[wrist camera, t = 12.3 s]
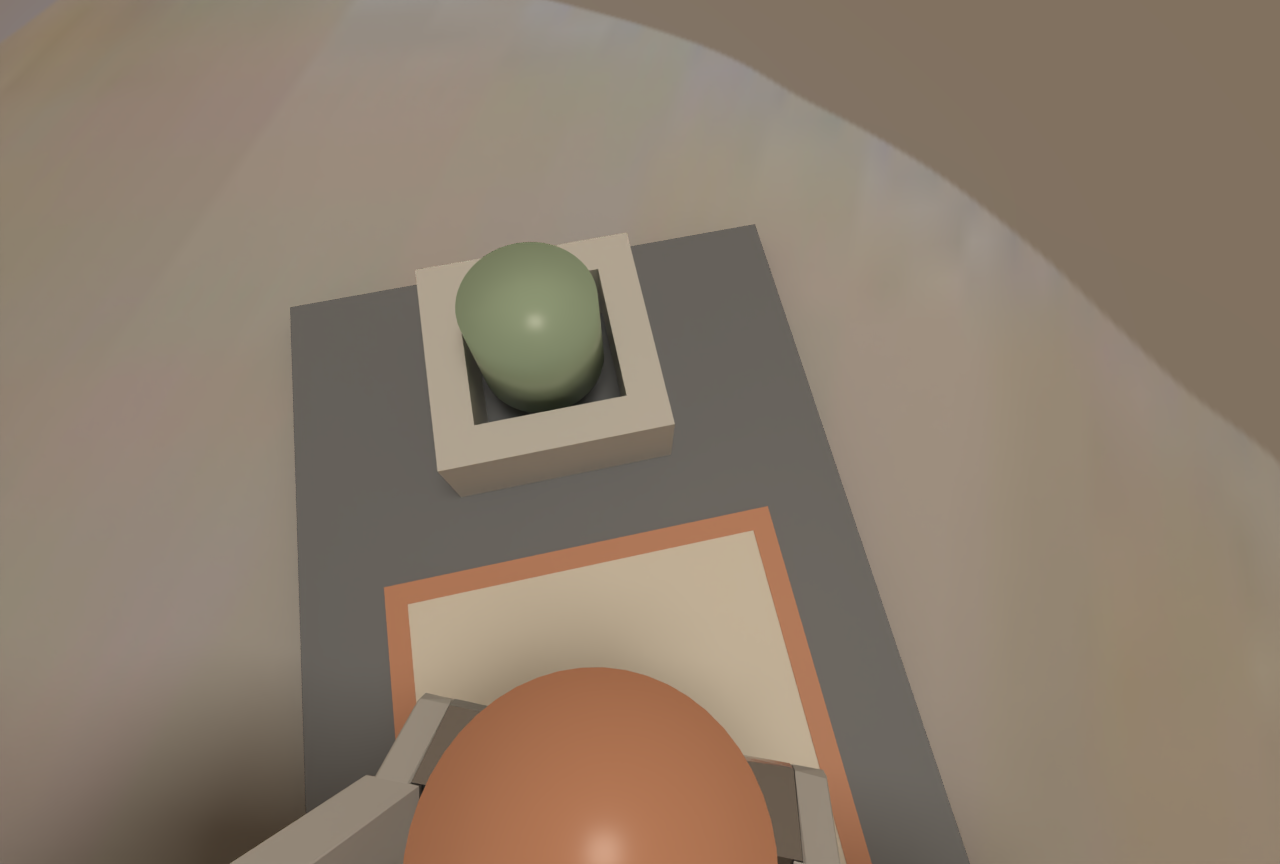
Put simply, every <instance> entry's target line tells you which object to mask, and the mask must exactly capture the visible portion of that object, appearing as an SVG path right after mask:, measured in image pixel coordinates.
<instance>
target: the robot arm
mask: <svg viewBox="0 0 1280 864" xmlns="http://www.w3.org/2000/svg"><path fill="white" fill-rule="evenodd" d="M486 707H487V706H486V705H481V704H477V703H472V702H468V701H463V700H459V699H452V698H448V697H443V696H438V695H434V694H429V693H425V694H424V695H423V696H422V697H421V698H420V699H419V700H418V701H417V703H416V705H415V706H414V708H413V710H412V712H411V713H410V715H409V717H408V719H407V721H406V722H405V724H404V726H403V728H402V729H401V731H400V733H399V735H398V737H397V738H396V740H395V742H394V744H393V745H392V747H391V749H390V751H389V752H388V754H387V756H386V758H385V760H384V761H383V763H382V765H381V767H380V768H379V770H378V772H377V774H376V776H369V775H365V776H364V777H362V778H360V779H359V780H357V781H356V782H354V783H353V784H351V785H350V786H348V787H347V788H345V789H344V790H342V791H341V792H339V793H337V794H336V795H334V796H333V797H331V798H330V799H328V800H327V801H325V802H324V803H322V804H321V805H319V806H317V807H316V808H314V809H313V810H311V811H310V812H308V813H307V814H305V815H304V816H302V817H301V818H299V819H298V820H296V821H294V822H293V823H291V824H290V825H288V826H287V827H285V828H284V829H282V830H281V831H279V832H278V833H276V834H274V835H273V836H271V837H270V838H268V839H267V840H265V841H264V842H262V843H261V844H259V845H258V846H256V847H254V848H253V849H251V850H250V851H248V852H247V853H245V854H244V855H242V856H241V857H239V858H238V859H236V860H235V861H233V862H231V863H230V864H403V860H404V853H405V848H406V843H407V838H408V834H409V829H410V825H411V822H412V819H413V816H414V813H415V810H416V807H417V804H418V801H419V799H420V796H421V794H422V792H423V790H424V788H425V786H426V783H427V781H428V779H429V777H430V775H431V773H432V772H433V770H434V768H435V767H436V765H437V763H438V762H439V760H440V758H441V757H442V755H443V753H444V752H445V751H446V749H447V748H448V747H449V745H450V744H451V743H452V742H453V740H454V739H455V738H456V736H457V735H458V734H459V733H460V731H461V730H462V729H463V728H464V727H465V726H466V725H467V724H468V723H469V722H470V721H471V720H472V719H473V718H474V717H475V716H476V715H477V714H478V713H480V712H481V711H482V710H483V709H485V708H486ZM744 757H745V759H746V760H747V762H748V764H749V766H750V767H751V769H752V771H753V773H754V775H755V777H756V780H757V782H758V784H759V787H760V789H761V791H762V793H763V796H764V799H765V802H766V806H767V809H768V812H769V815H770V818H771V822H772V827H773V833H774V838H775V843H776V849H777V862H778V864H841V863H840V857H839V851H838V844H837V838H836V832H835V825H834V819H833V813H832V806H831V800H830V794H829V787H828V781H827V776H826V774H825V772H824V771H823V770H821V769H816V768H810V767H805V766H800V765H795V764H790V763H786V762H780V761H775V760H769V759H764V758H758V757H753V756H747V755H744Z"/></svg>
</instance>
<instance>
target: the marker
mask: <svg viewBox="0 0 1280 864" xmlns="http://www.w3.org/2000/svg"><path fill="white" fill-rule="evenodd" d="M403 864H778V862H777V849H776V843H775V838H774V833H773V827H772V822H771V818H770V815H769V812H768V809H767V806H766V802H765V799H764V796H763V793H762V791H761V789H760V787H759V784H758V782H757V780H756V777H755V775H754V773H753V771H752V769H751V767H750V766H749V764H748V762H747V760H746V759H745V757H744V755H743V754H742V752H741V750H740V749H739V747H738V746H737V745H736V743H735V742H734V741H733V739H732V738H731V737H730V735H729V734H728V733H727V732H726V730H725V729H724V728H723V727H722V726H721V725H720V724H719V723H718V722H717V721H716V720H715V719H714V718H713V717H712V716H711V715H710V714H709V713H708V712H707V711H706V710H705V709H704V708H702V707H701V706H700V705H699V704H697V703H696V702H695V701H694V700H692V699H691V698H690V697H688V696H687V695H685V694H683V693H682V692H680V691H678V690H677V689H675V688H673V687H672V686H670V685H668V684H666V683H663V682H661V681H659V680H656V679H654V678H651V677H649V676H646V675H643V674H639V673H635V672H631V671H628V670H622V669H613V668H605V667H591V668H576V669H569V670H563V671H558V672H554V673H551V674H548V675H544V676H541V677H538V678H535V679H533V680H531V681H529V682H526V683H524V684H522V685H520V686H517V687H515V688H514V689H512V690H511V691H509V692H507V693H506V694H504V695H502V696H501V697H499V698H498V699H496V700H495V701H493V702H492V703H491V704H490V705H488V706H487V707H486V708H485V709H483V710H482V711H481V712H480V713H478V714H477V715H476V716H475V717H474V718H473V719H472V720H471V721H470V722H469V723H468V724H467V725H466V726H465V727H464V728H463V729H462V730H461V731H460V733H459V734H458V735H457V736H456V738H455V739H454V740H453V742H452V743H451V744H450V745H449V747H448V748H447V749H446V751H445V752H444V753H443V755H442V757H441V758H440V760H439V762H438V763H437V765H436V767H435V768H434V770H433V772H432V773H431V775H430V777H429V779H428V781H427V783H426V786H425V788H424V790H423V792H422V794H421V796H420V799H419V801H418V804H417V807H416V810H415V813H414V816H413V819H412V822H411V825H410V829H409V834H408V838H407V843H406V848H405V853H404V860H403Z"/></svg>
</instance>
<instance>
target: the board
mask: <svg viewBox="0 0 1280 864" xmlns="http://www.w3.org/2000/svg"><path fill="white" fill-rule="evenodd" d="M554 246H557V247H560V248H562V249H564V250H566V251H568V252H570V253H571V254H573V255H574V256H576V257H577V258H578V259H579V260H580V261H582V263H583V264H584V265H585V266H586V267H587V268H588V270H589V271H590V273H591V275H592V277H593V279H594V281H595V284H596V288H597V293H598V302H599V311H600V320H601V330H602V339H603V348H604V362H603V368H602V371H601V374H600V376H599V378H598V380H597V382H596V384H595V385H594V387H593V388H592V389H591V390H590V391H589V393H588V394H586V395H585V396H584V397H583V398H582V399H581V400H579V401H578V402H576V403H575V404H573V405H571V406H569V407H565V408H560V409H555V410H550V411H545V412H540V413H532V412H525V411H521V410H518V409H516V408H513V407H511V406H509V405H507V404H505V403H504V402H503V401H501V400H500V399H499V398H498V397H497V396H496V395H495V394H494V393H493V392H492V391H491V389H490V388H489V386H488V384H487V383H486V381H485V379H484V377H483V375H482V373H481V371H480V369H479V367H478V365H477V363H476V361H475V359H474V357H473V355H472V353H471V351H470V349H469V347H468V345H467V343H466V341H465V339H464V337H463V335H462V333H461V331H460V328H459V326H458V323H457V319H456V314H455V302H456V296H457V292H458V289H459V286H460V284H461V282H462V280H463V278H464V277H465V275H466V274H467V272H468V271H469V270H470V268H471V267H472V266H473V265H474V264H475V263H476V262H478V261H479V260H480V259H481V258H480V259H475V260H469V261H463V262H458V263H452V264H446V265H441V266H435V267H430V268H424V269H418V270H415V273H416V282H417V285H413V286H407V287H402V288H396V289H390V290H385V291H379V292H374V293H368V294H362V295H357V296H351V297H346V298H340V299H334V300H329V301H323V302H318V303H312V304H306V305H301V306H295V307H290V315H291V348H292V380H293V412H294V445H295V477H296V509H297V542H298V574H299V607H300V639H301V671H302V704H303V736H304V768H305V801H306V814H307V813H308V812H310V811H311V810H313V809H314V808H316V807H317V806H319V805H321V804H322V803H324V802H325V801H327V800H328V799H330V798H331V797H333V796H334V795H336V794H337V793H339V792H341V791H342V790H344V789H345V788H347V787H348V786H350V785H351V784H353V783H354V782H356V781H357V780H359V779H360V778H362V777H364V776H365V775H369V776H376V774H377V772H378V770H379V768H380V767H381V765H382V763H383V761H384V760H385V758H386V756H387V754H388V752H389V751H390V749H391V747H392V745H393V744H394V742H395V740H396V738H397V737H398V735H399V733H400V731H401V729H402V728H403V726H404V724H405V722H406V721H407V719H408V717H409V715H410V713H411V712H412V710H413V708H414V706H415V705H416V703H417V701H418V700H419V699H420V698H421V697H422V696H423V695H424V694H425V693H429V694H434V695H438V696H443V697H448V698H452V699H459V700H463V701H468V702H472V703H477V704H481V705H486V706H488V705H490V704H491V703H492V702H493V701H495V700H496V699H498V698H499V697H501V696H502V695H504V694H506V693H507V692H509V691H511V690H512V689H514V688H515V687H517V686H520V685H522V684H524V683H526V682H529V681H531V680H533V679H535V678H538V677H541V676H544V675H548V674H551V673H554V672H558V671H563V670H569V669H576V668H591V667H605V668H613V669H622V670H628V671H631V672H635V673H639V674H643V675H646V676H649V677H651V678H654V679H656V680H659V681H661V682H663V683H666V684H668V685H670V686H672V687H673V688H675V689H677V690H678V691H680V692H682V693H683V694H685V695H687V696H688V697H690V698H691V699H692V700H694V701H695V702H696V703H697V704H699V705H700V706H701V707H702V708H704V709H705V710H706V711H707V712H708V713H709V714H710V715H711V716H712V717H713V718H714V719H715V720H716V721H717V722H718V723H719V724H720V725H721V726H722V727H723V728H724V729H725V730H726V732H727V733H728V734H729V735H730V737H731V738H732V739H733V741H734V742H735V743H736V745H737V746H738V747H739V749H740V750H741V752H742V754H743V755H747V756H753V757H758V758H764V759H769V760H775V761H780V762H786V763H790V764H795V765H800V766H805V767H810V768H816V769H821V770H823V771H824V772H825V774H826V776H827V781H828V787H829V794H830V800H831V806H832V813H833V819H834V825H835V832H836V838H837V844H838V851H839V857H840V863H841V864H970V863H969V860H968V857H967V854H966V851H965V848H964V845H963V842H962V839H961V836H960V833H959V830H958V827H957V824H956V821H955V818H954V815H953V812H952V809H951V806H950V803H949V800H948V797H947V794H946V791H945V788H944V785H943V782H942V779H941V776H940V773H939V770H938V767H937V764H936V762H935V759H934V756H933V753H932V750H931V747H930V744H929V741H928V738H927V735H926V732H925V729H924V726H923V723H922V720H921V717H920V714H919V711H918V708H917V705H916V702H915V699H914V696H913V693H912V690H911V687H910V684H909V681H908V678H907V675H906V672H905V669H904V666H903V663H902V660H901V657H900V654H899V651H898V649H897V646H896V643H895V640H894V637H893V634H892V631H891V628H890V625H889V622H888V619H887V616H886V613H885V610H884V607H883V604H882V601H881V598H880V595H879V592H878V589H877V586H876V583H875V580H874V577H873V574H872V571H871V568H870V565H869V562H868V559H867V556H866V553H865V550H864V547H863V544H862V541H861V538H860V536H859V533H858V530H857V527H856V524H855V521H854V518H853V515H852V512H851V509H850V506H849V503H848V500H847V497H846V494H845V491H844V488H843V485H842V482H841V479H840V476H839V473H838V470H837V467H836V464H835V461H834V458H833V455H832V452H831V449H830V446H829V443H828V440H827V437H826V434H825V431H824V428H823V425H822V423H821V420H820V417H819V414H818V411H817V408H816V405H815V402H814V399H813V396H812V393H811V390H810V387H809V384H808V381H807V378H806V375H805V372H804V369H803V366H802V363H801V360H800V357H799V354H798V351H797V348H796V345H795V342H794V339H793V336H792V333H791V330H790V327H789V324H788V321H787V318H786V315H785V312H784V310H783V307H782V304H781V301H780V298H779V295H778V292H777V289H776V286H775V283H774V280H773V277H772V274H771V271H770V268H769V265H768V262H767V259H766V256H765V253H764V250H763V247H762V244H761V241H760V238H759V235H758V232H757V229H756V226H755V224H754V225H748V226H743V227H737V228H731V229H726V230H720V231H715V232H709V233H703V234H698V235H692V236H687V237H681V238H675V239H670V240H664V241H659V242H653V243H647V244H642V245H636V246H631V247H630V243H629V239H628V235H627V233H621V234H616V235H610V236H604V237H599V238H593V239H588V240H582V241H576V242H571V243H565V244H559V245H554Z"/></svg>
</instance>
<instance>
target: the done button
mask: <svg viewBox="0 0 1280 864" xmlns="http://www.w3.org/2000/svg"><path fill="white" fill-rule="evenodd" d="M455 314H456V319H457V323H458V326H459V328H460V331H461V333H462V335H463V337H464V339H465V341H466V343H467V345H468V347H469V349H470V351H471V353H472V355H473V357H474V359H475V361H476V363H477V365H478V367H479V369H480V371H481V373H482V375H483V377H484V379H485V381H486V383H487V384H488V386H489V388H490V389H491V391H492V392H493V393H494V394H495V395H496V396H497V397H498V398H499V399H500V400H501V401H503V402H504V403H505V404H507V405H509V406H511V407H513V408H516V409H518V410H521V411H525V412H532V413H540V412H545V411H550V410H555V409H560V408H565V407H569V406H571V405H573V404H575V403H576V402H578V401H579V400H581V399H582V398H583V397H584V396H585V395H586V394H588V393H589V391H590V390H591V389H592V388H593V387H594V385H595V384H596V382H597V380H598V378H599V376H600V374H601V371H602V368H603V362H604V348H603V339H602V330H601V320H600V311H599V302H598V293H597V288H596V284H595V281H594V279H593V277H592V275H591V273H590V271H589V270H588V268H587V267H586V266H585V265H584V264H583V263H582V261H580V260H579V259H578V258H577V257H576V256H574V255H573V254H571V253H570V252H568V251H566V250H564V249H562V248H560V247H557V246H554V245H550V244H546V243H538V242H523V243H516V244H511V245H507V246H504V247H502V248H499V249H497V250H495V251H492V252H491V253H489V254H487V255H486V256H484V257H483V258H481V259H480V260H479V261H478V262H476V263H475V264H474V265H473V266H472V267H471V268H470V270H469V271H468V272H467V274H466V275H465V277H464V278H463V280H462V282H461V284H460V286H459V289H458V292H457V296H456V302H455Z"/></svg>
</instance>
